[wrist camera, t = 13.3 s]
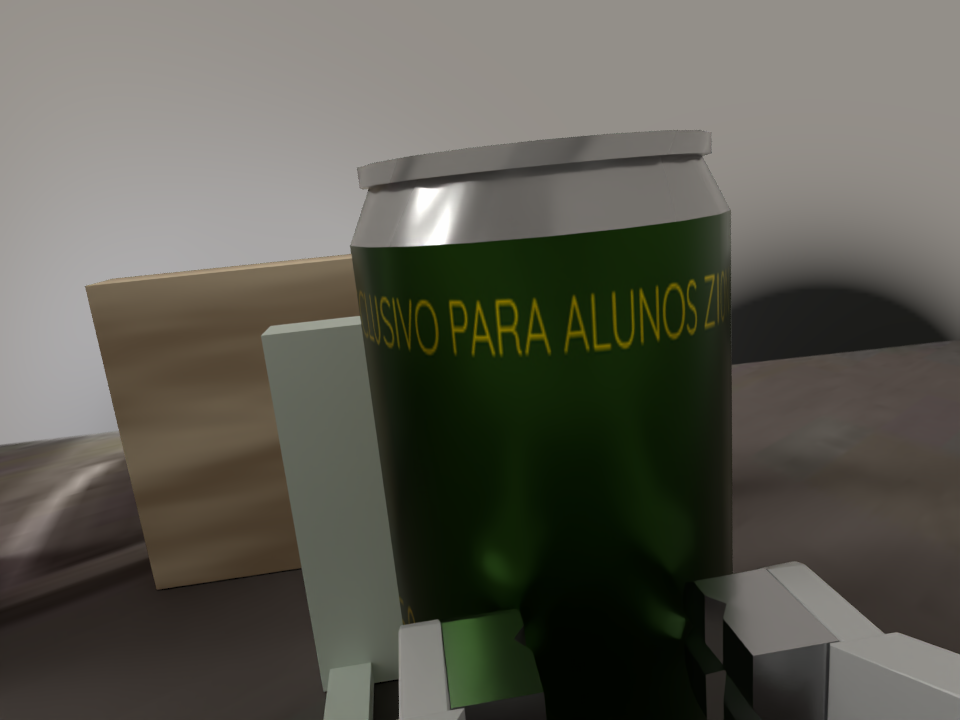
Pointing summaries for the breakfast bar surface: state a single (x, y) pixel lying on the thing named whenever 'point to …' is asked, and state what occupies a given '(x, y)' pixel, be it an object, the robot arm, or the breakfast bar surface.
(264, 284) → the oak board
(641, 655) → the beer can
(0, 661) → the breakfast bar surface
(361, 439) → the white legged plate
